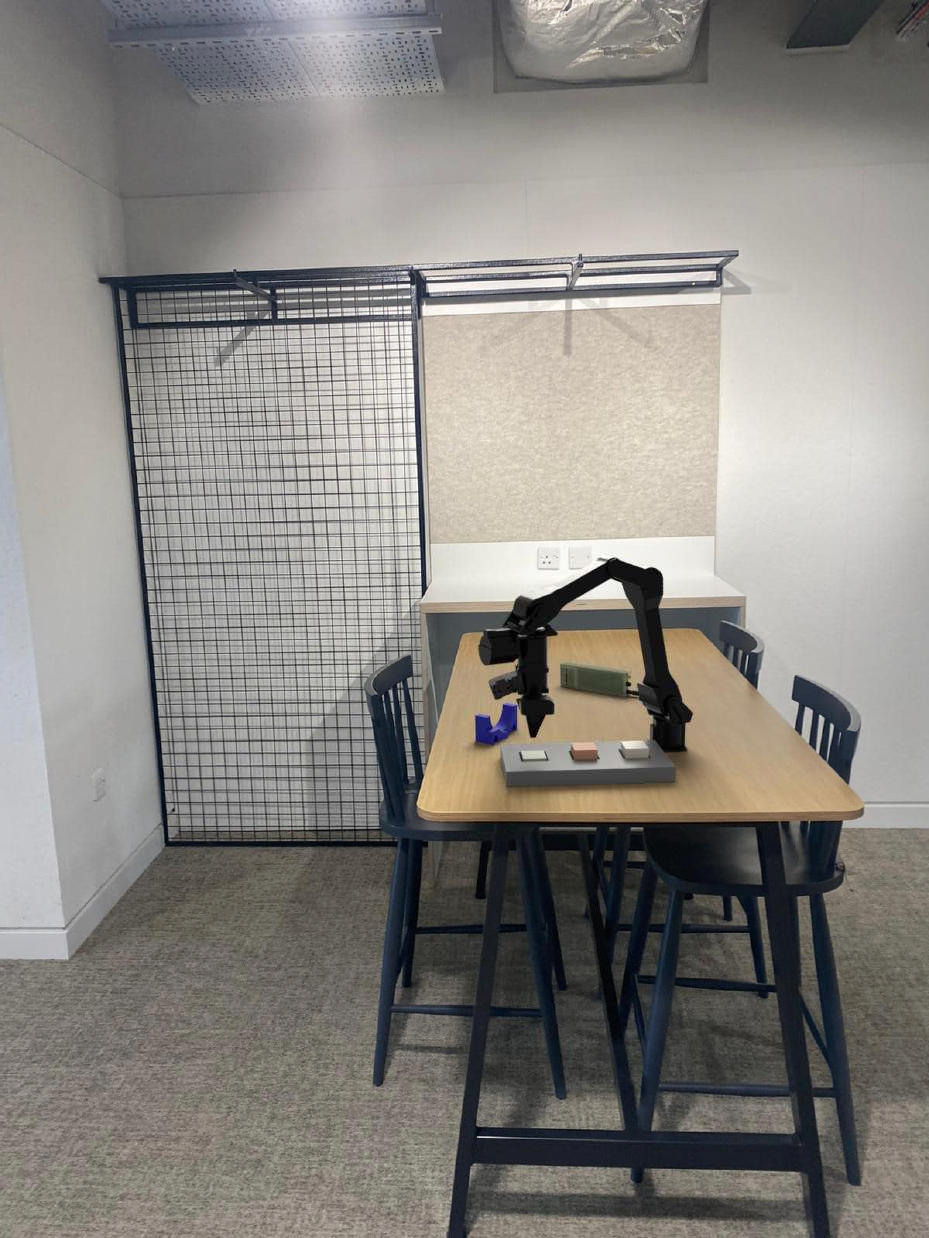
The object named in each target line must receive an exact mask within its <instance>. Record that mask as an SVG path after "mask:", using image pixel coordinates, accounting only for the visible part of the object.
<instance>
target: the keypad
mask: <svg viewBox="0 0 929 1238" xmlns="http://www.w3.org/2000/svg"><path fill="white" fill-rule="evenodd" d="M622 741H623V740H604V741H603V740H599V741H592V742H594V744H595V746H596V748H597V750H598V759H593V760H574V758H573V756H572V754H571V743H586V742H587V741H564V742H563V741H562V742H561V741H560V742H530V743H528V742H527V743H525V742H523V743H500V744H499V745H500V746H499V747H500V749H499V750H500V754H499V755H500V756H499V757H500V762H501V766H502V767H501V768H502V772H503V776H504V777H503V778H504V781H505V786H506V788H513V787H514V788H515V787H517V788H518V787H520V788H521V787H547V786H548V787H549V786H552V787H553V786H554V787H555V786H582V785H583V786H585V785H587V786H588V785H617V784H618V785H619V784H621V785H622V784H650V783H675V782H676V771H677V770H676V765H675V764H674V763H673V762H672V761H671V759H670V758H669V757H668V755H667V754H666V753H665V751H663V750H662V749H661V747H660V746H659V745H658V744H657V742H656V741H655V740H650V739H638V740H637V739H635V740H634V739H631V740H628V741H644V743H645V744H646V745H647V747H648V748H649V758H628V759H625V757H624V755H623V754H622V752H621V742H622ZM521 751H544V753H545V756H546V761H524V762H521Z"/></svg>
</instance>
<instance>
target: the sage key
mask: <svg viewBox="0 0 929 1238" xmlns="http://www.w3.org/2000/svg"><path fill="white" fill-rule="evenodd" d="M524 761H546V756H545V753H544V751H521V762H524Z"/></svg>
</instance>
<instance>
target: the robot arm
mask: <svg viewBox="0 0 929 1238" xmlns="http://www.w3.org/2000/svg"><path fill="white" fill-rule="evenodd" d="M610 580H613V581H615V582H617V583H620V584H621V586H622V589H623V592H624V595H625V597H626V599H627V600H628V601H629V604H630V605H631V607H632V608H633V611H634V613H635V620H636V625H637V632H638V638H639V642H640V649H641V650H640V651H641V656H642V663H643V667H644V668H643V669H644V677H643V678H642V679H643V680H642V681H641V682H637V683H636V688H637V691H639V696H638V701H640V702H641V703H642V706H643V707H644V708H646V711H647V715H648V716H652V723H650V724H649V740H655V741H656V742H657V744H658V745H659V746H660V747H661V749H662V750H663V751H664V752H678V751H679V752H680V751H684V752H686V751H688V747H687V745H686V725H687V724H689V723H691V722H692V718H693V715H694V713H693V711H692V710H691V709H690V708H689V707H688V705H686V704H685V702H683V697H682V694H681V691H680V688H679V685H678V684H677V682H676V680H675V678H674V677H673V676H672V674H671V672H670V669H669V663H668V662H669V661H668V657H667V656H668V655H667V650H666V643H665V636H664V632H663V631H664V630H663V626H662V625H663V624H662V619H661V613H660V605H661V602H662V599H663V598H664V597H663V596H664V575H663V572H662V571H661V570H659V569H658V568H656V567H654V566H649V565H643V564H637V563H630V562H626V561H623V560H622V559H620V558H618V557H615V556H609V555H602V556H600V557H597V558H596V560H595V561H592V562H591V563H590V564H588V565H586V566H584V567H582V568H580V569H579V570H577V571H575V572H574V573H572V574H570V575H568V576H566V577H565V578H563V579H561V580H559V581H558V582H556V583H554V584H553V585H550V586H547V587H544V588H538V589H534V590H530V591H527V592H525V593H522V594H520V595H518V596H517V597H516V598H515V600H514V602H513V606H512V610H511V611H510V613H509V614H508V616H507V618H505V619H506V620H504V622H503V623H502V626H501V628H494V629H493V628H485V629H482V630H483V631H482V632H483V634H482V636H481V637H480V640H479V644H478V648H477V650H478V657H479V659H480V662H481V663H482V665H483V666H487V667H488V666H495V665H503V664H511V663H514V664H515V662H516V660H517V662H516V664H515V665H514V670H512V671H509V672H506V673H503V674H500V675H498V676H496V677H492V678H490V679H489V680H488V686H489V689H490V691H491V693H492V696H493V698H494V700H496V701H499V700H501V699H503V698H504V697H506V696H509V695H511V694H517V696H519V695H520V697H519V698H516V699H515V700H516V703H517V704H516V705H517V708H518V709H519V713H520V715H521V716H525V720H526V725H527V730H528V734H529V737H530V738H531V739H536V738H537V736H538V734H539V732H540V729H541V727H542V725H543V723H544V720H545V718H546V716H552V715H554V714H555V702H554V700H553V699H552V697H550V695H548V694H550V688H549V686H548V674H549V673H550V668H549V665H548V637H549V638H550V637H557V636H558V634H559V633H558V631H556V630H555V629H554V628H553V627H552V626H551V624H550V623H551V622H552V621H553V620H554V619H555V618H557V617H558V616H559V614H560V613H561V611H562V609H563V608H565V606H567V605H569V604H570V603H572V602H574V601H575V600H577V599H579V598H580V597H582V596H584V595H586V594H587V593H589V592H590V591H592V590H594V589H596V588H598V587H599V586H601V585H603V584H604V583H606V582H607V581H610ZM520 623H522V624H520Z"/></svg>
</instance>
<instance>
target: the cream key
mask: <svg viewBox="0 0 929 1238" xmlns="http://www.w3.org/2000/svg"><path fill="white" fill-rule="evenodd" d="M621 741H622V742H621V752H622V754H623V755H624V757H625V759H628V758H649V748H648V747H647V745H646V744H645V743H644V741H629V740H621Z"/></svg>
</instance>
